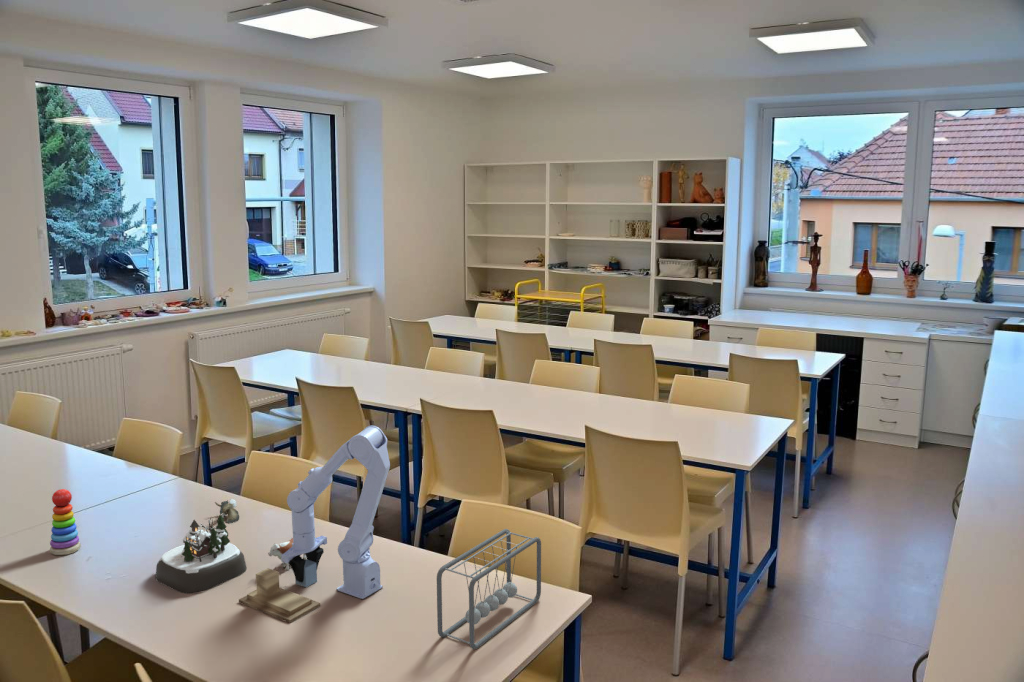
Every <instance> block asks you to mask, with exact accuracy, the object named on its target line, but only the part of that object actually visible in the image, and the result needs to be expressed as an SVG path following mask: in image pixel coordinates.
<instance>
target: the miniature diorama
mask: <svg viewBox="0 0 1024 682" xmlns="http://www.w3.org/2000/svg"><path fill="white" fill-rule="evenodd" d="M216 523H217V524H216V526H214V523H213V520H212V518H211V517H209V520H208V526H209V527H208V526H207V525H206V526H205V525H204V524H203V523H202V522H199V523H198V522H197V521H196V519H193V521H192V522H191V524H190V526H189V530H188V531H187V533H186V535H184V537H183V539H182V541H183V544H182V545H179V546H176V547H174V548H172V549H170V550H168V551H166V552H164V553H163V554H162V555H161V557H160V558H159V560H158V562H157V564H156V565H155V566H156V569H155V580H156V581H157V582H158V583H159V584H161V583H162V584H161V585H164V586H165V587H166V586H167V587H168V588H170V589H172V590H174V591H176V592H178V593H183V594H187V595H188V594H189V595H190V594H198V593H201V592H205V591H208V590H210V589H213V588H215V587H217V586H219V585H222V584H224V583H227V582H229V581H231V580H233V579H235V578H238V577H240V576H241V575H243V574H244V573H245V572H246V571H247V568H248V567H247V564H246V559H245V556H244V553H243V552H242V551H241V550H240V549H239V548H238V547H237V546H236V545H235V544H233V543H231V540H230V538H228V537H229V532H228V530H227V529H226V528H227V525H226V524H225V519H224V518H223V517H222V514H221V513H220V512H219V517H218V519H217V520H216ZM199 524H200V525H199ZM199 528H205V531H204V530H203V529H199Z"/></svg>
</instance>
